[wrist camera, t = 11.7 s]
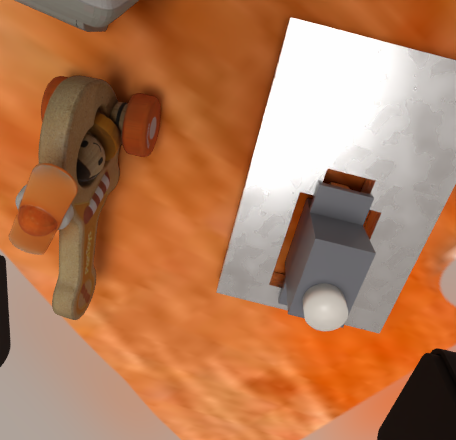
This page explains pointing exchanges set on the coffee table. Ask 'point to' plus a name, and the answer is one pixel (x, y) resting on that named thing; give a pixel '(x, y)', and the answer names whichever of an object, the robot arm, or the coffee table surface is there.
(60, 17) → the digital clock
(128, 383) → the coffee table surface
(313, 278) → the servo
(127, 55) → the coffee table surface
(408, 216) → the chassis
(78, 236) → the toy helicopter
